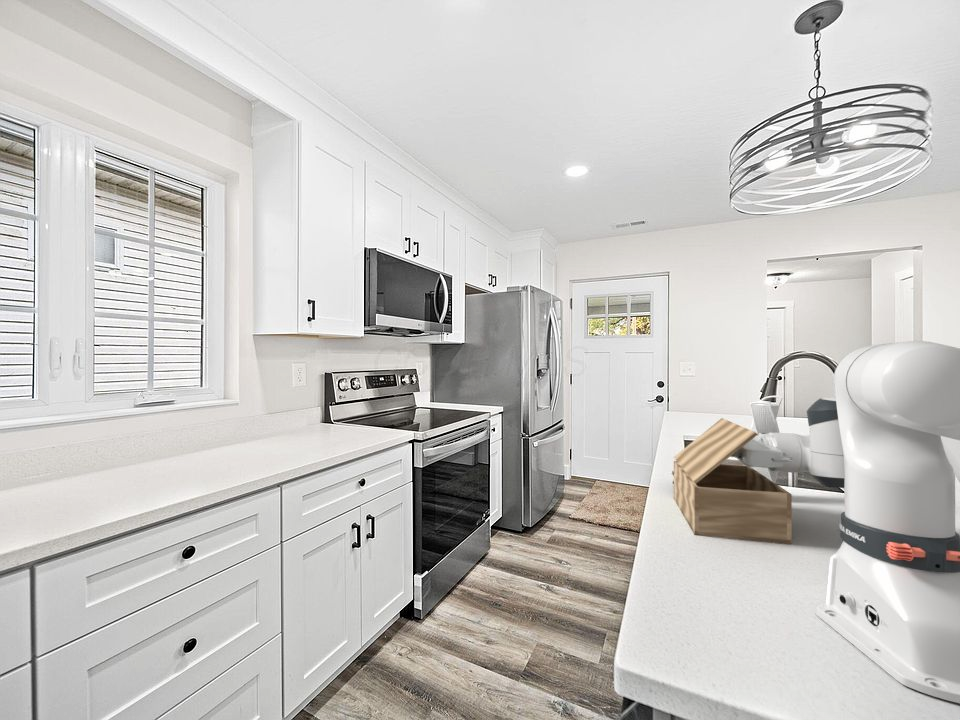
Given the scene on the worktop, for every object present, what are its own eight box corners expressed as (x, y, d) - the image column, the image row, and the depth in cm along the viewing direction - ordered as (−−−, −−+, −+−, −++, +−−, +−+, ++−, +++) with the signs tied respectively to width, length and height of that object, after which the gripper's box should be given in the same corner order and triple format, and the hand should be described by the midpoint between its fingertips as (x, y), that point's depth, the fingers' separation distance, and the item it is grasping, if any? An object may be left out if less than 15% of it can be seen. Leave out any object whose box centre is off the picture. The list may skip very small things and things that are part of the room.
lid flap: (757, 434, 90) (755, 432, 90) (695, 483, 93) (693, 481, 93) (723, 419, 114) (721, 418, 114) (675, 459, 117) (673, 457, 117)
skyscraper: (773, 495, 122) (773, 394, 123) (788, 504, 114) (788, 396, 115) (740, 493, 124) (740, 394, 124) (753, 502, 116) (753, 396, 116)
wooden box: (791, 544, 88) (791, 494, 88) (694, 534, 92) (694, 487, 92) (748, 504, 113) (748, 465, 113) (673, 498, 118) (673, 461, 118)
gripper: (797, 477, 91) (723, 472, 95) (763, 457, 111) (703, 453, 114) (797, 446, 91) (723, 443, 95) (763, 432, 111) (703, 429, 114)
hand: (712, 448), depth 105 cm, fingers closed, pressing on lid flap
